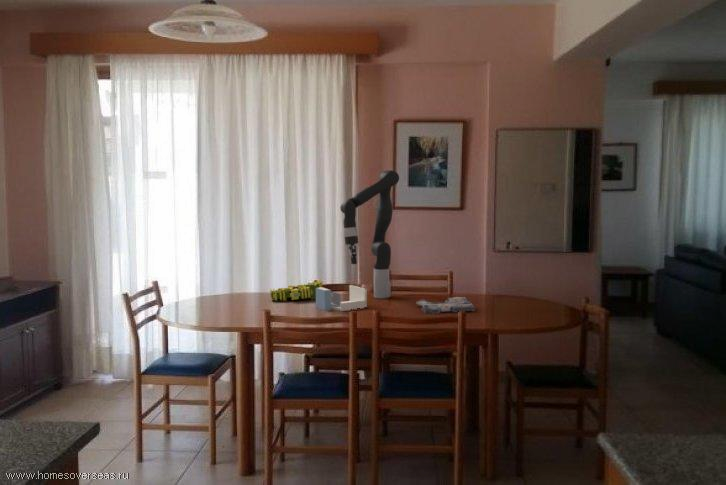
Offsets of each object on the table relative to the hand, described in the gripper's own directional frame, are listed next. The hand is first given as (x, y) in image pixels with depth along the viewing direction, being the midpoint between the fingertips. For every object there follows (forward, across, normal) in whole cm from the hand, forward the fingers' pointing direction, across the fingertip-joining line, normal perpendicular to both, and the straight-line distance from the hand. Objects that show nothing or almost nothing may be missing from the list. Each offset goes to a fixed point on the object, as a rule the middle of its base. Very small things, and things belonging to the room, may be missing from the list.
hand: (354, 264), depth 351 cm
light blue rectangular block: (+22, -12, +20) cm, 33 cm away
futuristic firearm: (+30, -22, -44) cm, 57 cm away
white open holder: (+23, -9, +8) cm, 26 cm away
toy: (+17, +16, +34) cm, 42 cm away
